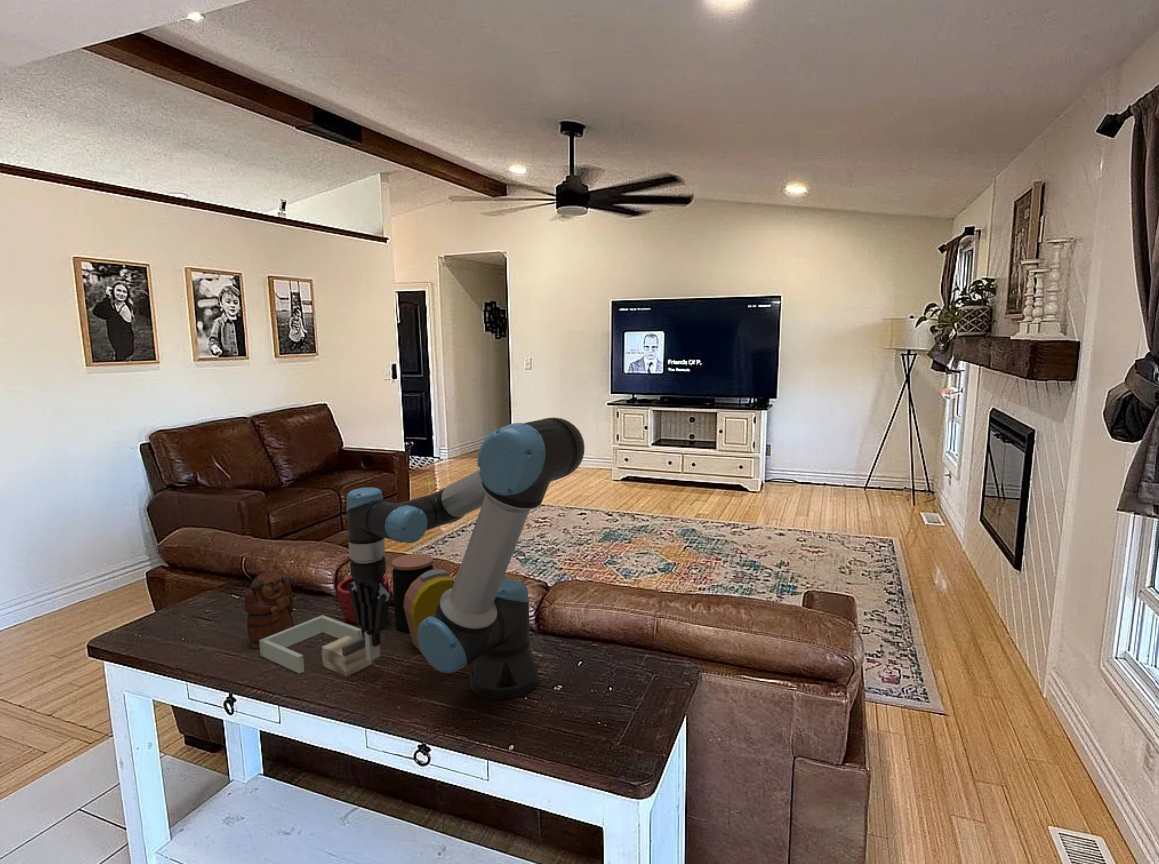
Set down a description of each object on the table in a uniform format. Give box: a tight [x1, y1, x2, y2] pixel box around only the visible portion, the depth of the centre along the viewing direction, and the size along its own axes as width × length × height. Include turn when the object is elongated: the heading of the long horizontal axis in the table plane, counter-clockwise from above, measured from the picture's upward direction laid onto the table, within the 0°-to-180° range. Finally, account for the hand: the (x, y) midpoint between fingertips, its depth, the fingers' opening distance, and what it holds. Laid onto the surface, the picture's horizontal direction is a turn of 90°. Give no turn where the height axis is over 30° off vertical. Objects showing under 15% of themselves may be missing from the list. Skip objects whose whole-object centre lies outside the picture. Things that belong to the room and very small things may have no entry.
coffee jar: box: [391, 553, 434, 633], centre depth 176 cm, size 11×11×18 cm
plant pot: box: [336, 575, 390, 629], centre depth 177 cm, size 13×13×12 cm
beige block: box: [321, 636, 373, 677], centre depth 155 cm, size 9×7×7 cm
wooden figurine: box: [244, 571, 295, 649], centre depth 168 cm, size 12×6×18 cm, turn 159°
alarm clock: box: [403, 568, 456, 655], centre depth 165 cm, size 15×8×18 cm, turn 123°
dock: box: [259, 614, 363, 675], centre depth 163 cm, size 16×17×4 cm
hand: (373, 657), depth 149 cm, fingers closed
